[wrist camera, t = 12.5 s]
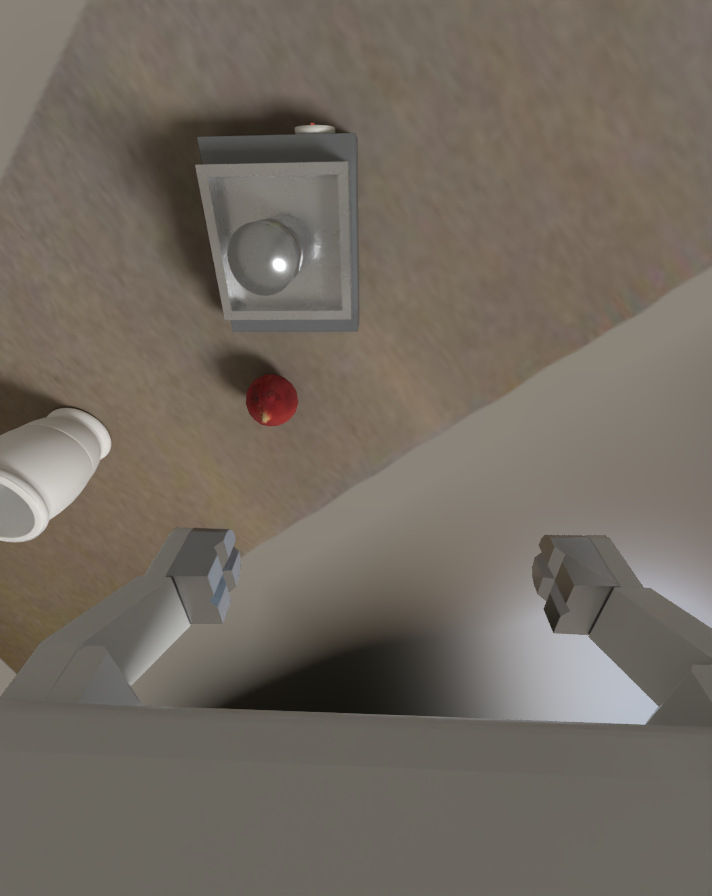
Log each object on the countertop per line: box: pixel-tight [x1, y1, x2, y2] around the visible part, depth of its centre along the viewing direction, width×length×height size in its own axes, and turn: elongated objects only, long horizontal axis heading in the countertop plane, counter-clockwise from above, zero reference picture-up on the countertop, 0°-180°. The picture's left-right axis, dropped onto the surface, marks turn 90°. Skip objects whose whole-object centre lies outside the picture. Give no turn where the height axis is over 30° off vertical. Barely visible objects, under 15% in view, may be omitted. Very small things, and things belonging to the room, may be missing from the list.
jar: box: [0, 408, 111, 542], centre depth 48 cm, size 11×10×15 cm
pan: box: [195, 161, 353, 320], centre depth 35 cm, size 12×12×3 cm
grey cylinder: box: [227, 215, 312, 296], centre depth 32 cm, size 5×5×9 cm
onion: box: [246, 375, 298, 426], centre depth 45 cm, size 6×6×8 cm
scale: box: [197, 123, 359, 332], centre depth 38 cm, size 13×17×4 cm
